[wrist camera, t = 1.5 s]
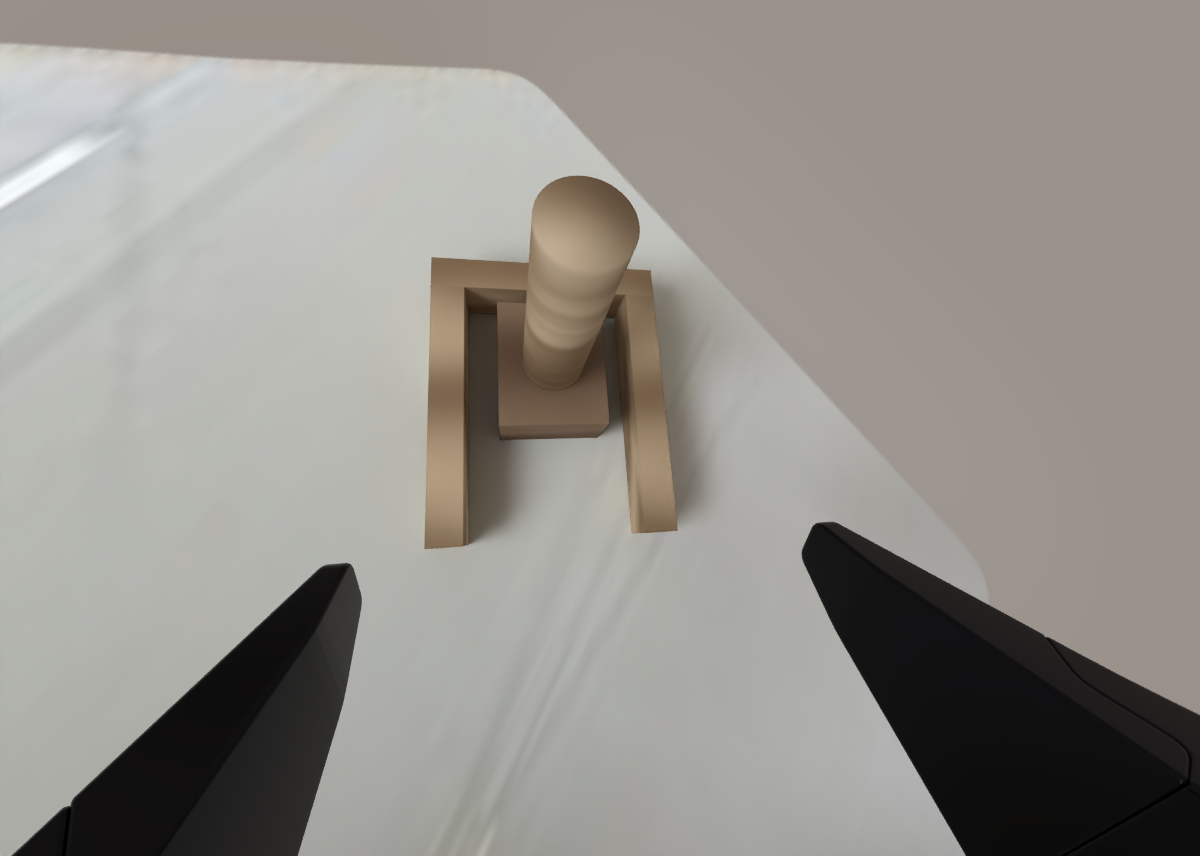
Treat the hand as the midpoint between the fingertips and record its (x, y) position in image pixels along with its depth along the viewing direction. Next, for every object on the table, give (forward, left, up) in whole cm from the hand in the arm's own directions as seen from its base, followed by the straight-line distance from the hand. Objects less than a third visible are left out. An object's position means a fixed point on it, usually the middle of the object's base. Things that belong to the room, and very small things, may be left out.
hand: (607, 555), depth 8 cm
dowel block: (+7, -5, -13) cm, 16 cm away
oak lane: (+5, -3, -13) cm, 15 cm away
